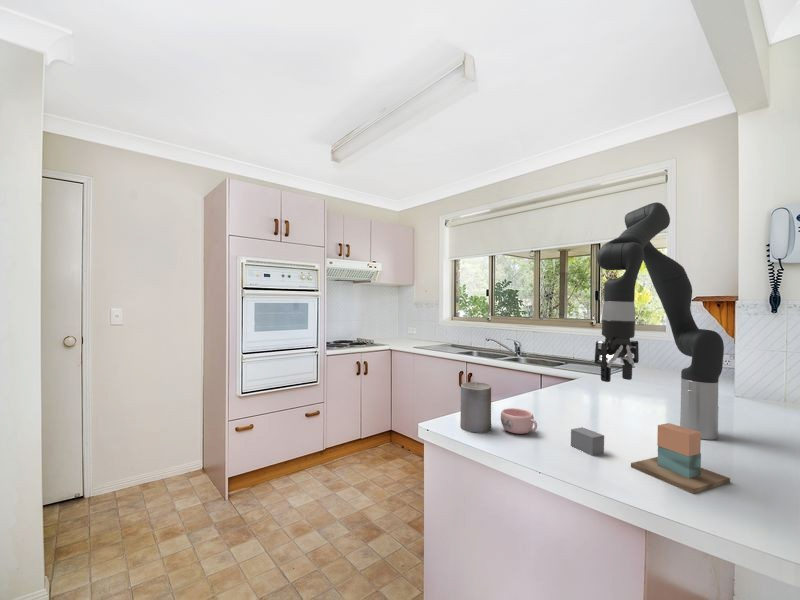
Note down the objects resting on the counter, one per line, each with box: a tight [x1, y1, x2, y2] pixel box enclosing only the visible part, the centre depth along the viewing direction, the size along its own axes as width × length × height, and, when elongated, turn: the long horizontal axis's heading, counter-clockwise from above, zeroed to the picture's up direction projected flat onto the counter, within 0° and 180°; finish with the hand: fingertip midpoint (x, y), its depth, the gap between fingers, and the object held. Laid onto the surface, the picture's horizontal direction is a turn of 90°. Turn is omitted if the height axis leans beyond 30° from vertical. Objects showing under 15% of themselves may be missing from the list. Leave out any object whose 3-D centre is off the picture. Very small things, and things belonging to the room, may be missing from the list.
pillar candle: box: [459, 381, 492, 434], centre depth 121 cm, size 10×10×15 cm
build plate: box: [630, 445, 731, 495], centre depth 91 cm, size 14×14×6 cm
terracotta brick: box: [656, 422, 702, 456], centre depth 91 cm, size 4×7×5 cm, turn 24°
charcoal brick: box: [570, 427, 605, 457], centre depth 105 cm, size 4×7×5 cm, turn 24°
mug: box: [500, 407, 538, 435], centre depth 118 cm, size 12×10×6 cm
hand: (616, 380), depth 100 cm, fingers open, 8 cm apart
